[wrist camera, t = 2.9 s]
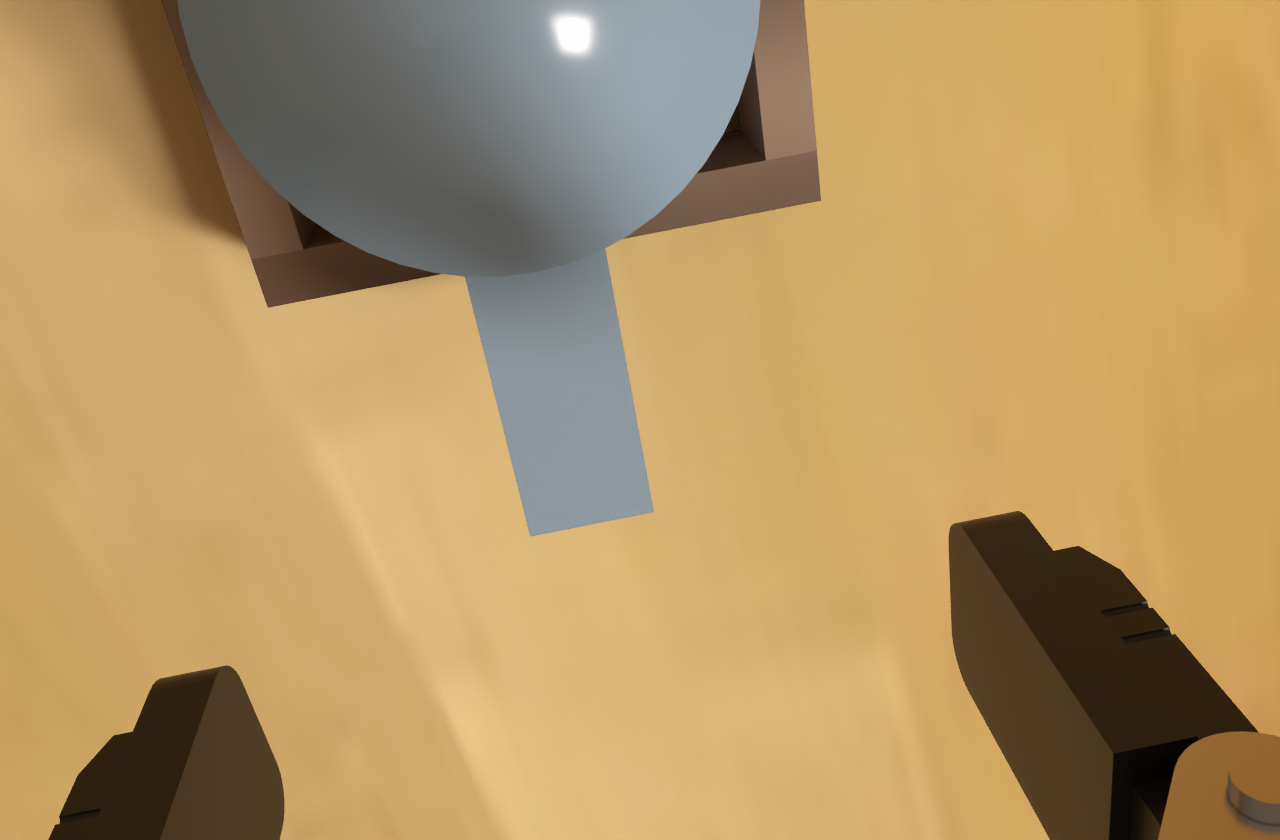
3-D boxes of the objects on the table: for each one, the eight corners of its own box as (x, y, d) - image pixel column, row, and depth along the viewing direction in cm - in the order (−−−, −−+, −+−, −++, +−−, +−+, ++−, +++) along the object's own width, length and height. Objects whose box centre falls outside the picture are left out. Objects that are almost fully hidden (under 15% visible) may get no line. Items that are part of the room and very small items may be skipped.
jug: (219, -321, 19) (22, -433, 11) (620, -393, 19) (707, -552, 11) (411, 349, 25) (372, 585, 17) (714, 290, 25) (814, 497, 17)
